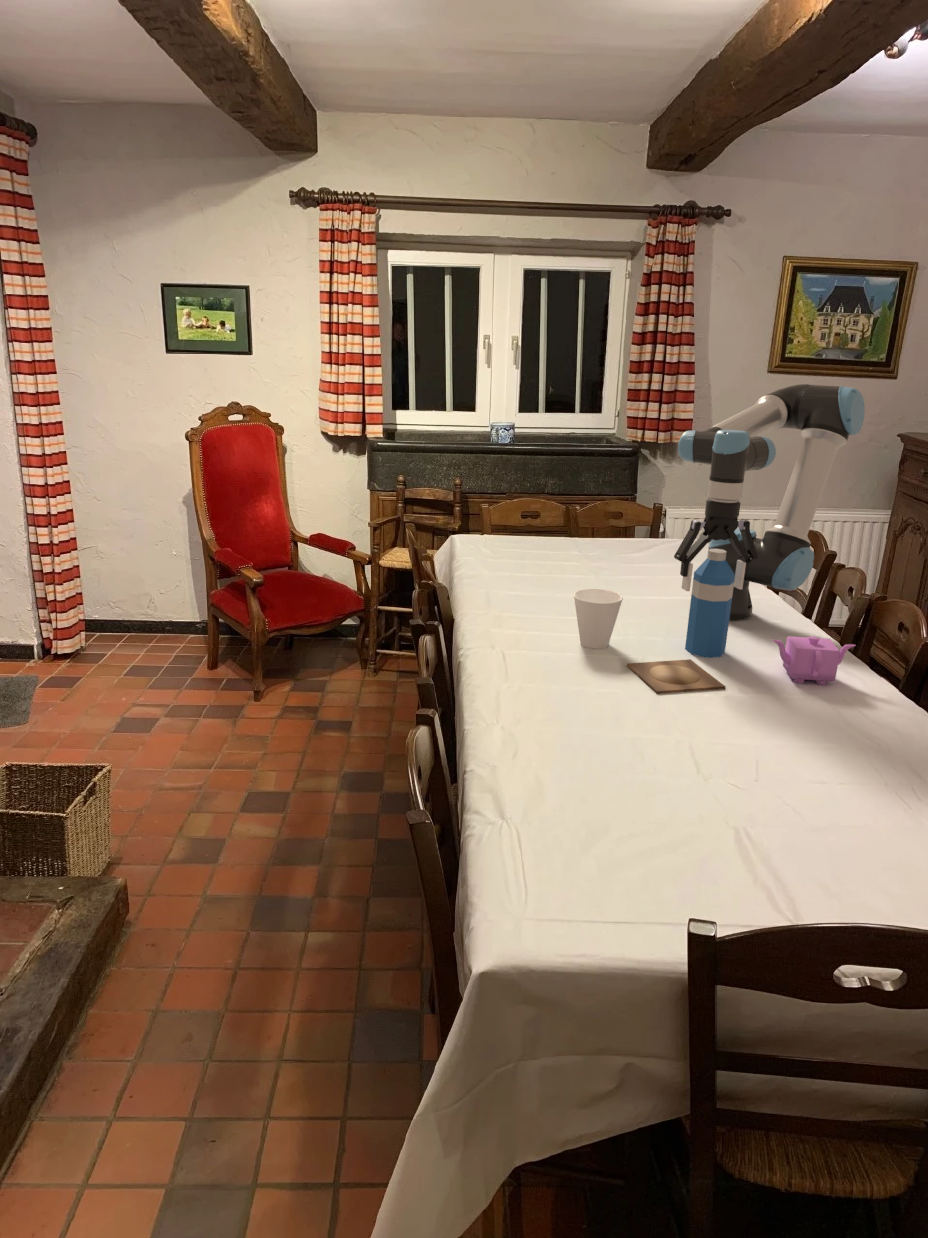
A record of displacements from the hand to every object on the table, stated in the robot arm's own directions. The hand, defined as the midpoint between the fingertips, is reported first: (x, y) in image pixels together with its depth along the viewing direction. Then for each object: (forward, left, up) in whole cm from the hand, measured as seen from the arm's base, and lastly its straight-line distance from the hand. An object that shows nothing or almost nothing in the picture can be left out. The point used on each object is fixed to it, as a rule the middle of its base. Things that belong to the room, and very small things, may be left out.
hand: (711, 588), depth 198 cm
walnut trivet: (+15, +14, -16) cm, 26 cm away
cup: (+25, -9, -16) cm, 31 cm away
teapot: (-15, +19, -16) cm, 29 cm away
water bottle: (0, 0, -16) cm, 16 cm away
